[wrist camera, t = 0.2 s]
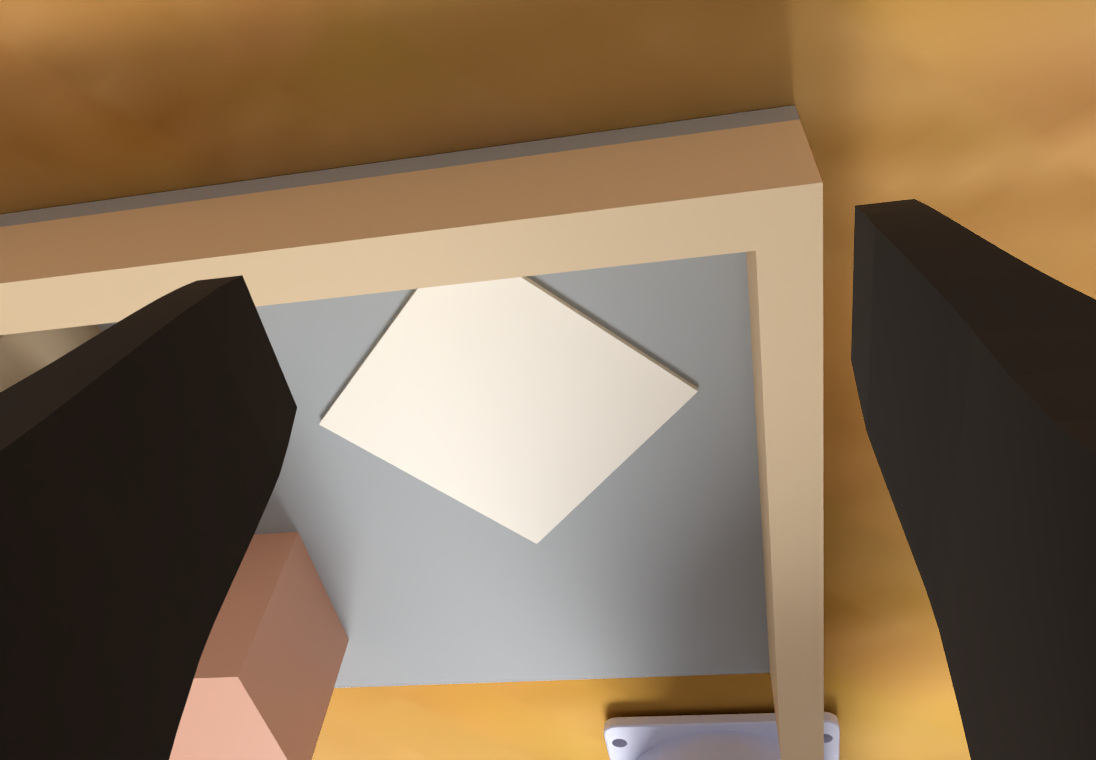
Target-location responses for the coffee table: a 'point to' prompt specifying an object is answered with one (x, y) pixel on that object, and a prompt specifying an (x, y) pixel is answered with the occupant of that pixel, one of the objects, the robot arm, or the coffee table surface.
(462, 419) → the pad
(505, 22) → the coffee table surface
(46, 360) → the ash block
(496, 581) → the arena board
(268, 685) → the terracotta cube
